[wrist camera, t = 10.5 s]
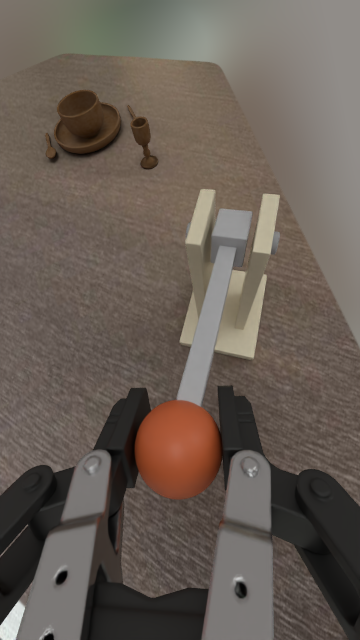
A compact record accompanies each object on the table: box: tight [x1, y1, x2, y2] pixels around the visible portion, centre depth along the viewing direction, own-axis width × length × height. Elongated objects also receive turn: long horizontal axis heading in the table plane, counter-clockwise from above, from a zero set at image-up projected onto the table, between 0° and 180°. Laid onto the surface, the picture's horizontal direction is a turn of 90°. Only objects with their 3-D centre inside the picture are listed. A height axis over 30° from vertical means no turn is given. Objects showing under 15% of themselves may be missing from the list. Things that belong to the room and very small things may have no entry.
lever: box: [135, 209, 253, 500], centre depth 13 cm, size 16×4×4 cm, turn 165°
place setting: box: [45, 90, 158, 169], centre depth 40 cm, size 18×20×6 cm
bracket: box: [180, 189, 280, 360], centre depth 22 cm, size 10×8×15 cm
